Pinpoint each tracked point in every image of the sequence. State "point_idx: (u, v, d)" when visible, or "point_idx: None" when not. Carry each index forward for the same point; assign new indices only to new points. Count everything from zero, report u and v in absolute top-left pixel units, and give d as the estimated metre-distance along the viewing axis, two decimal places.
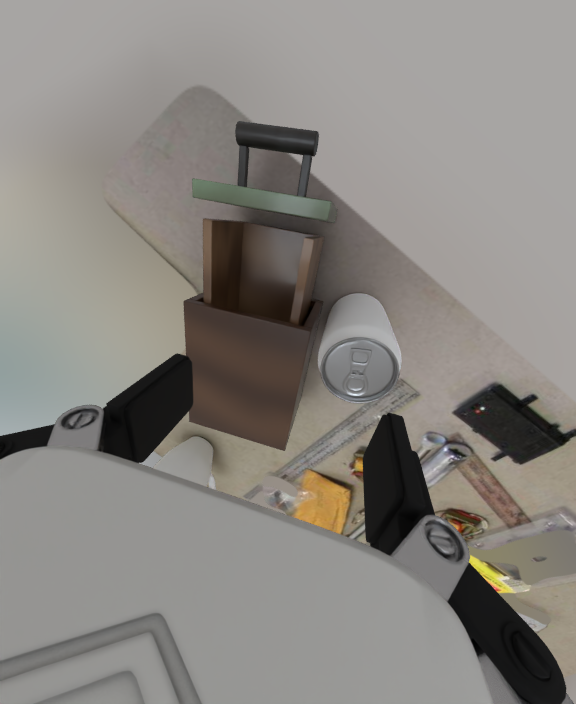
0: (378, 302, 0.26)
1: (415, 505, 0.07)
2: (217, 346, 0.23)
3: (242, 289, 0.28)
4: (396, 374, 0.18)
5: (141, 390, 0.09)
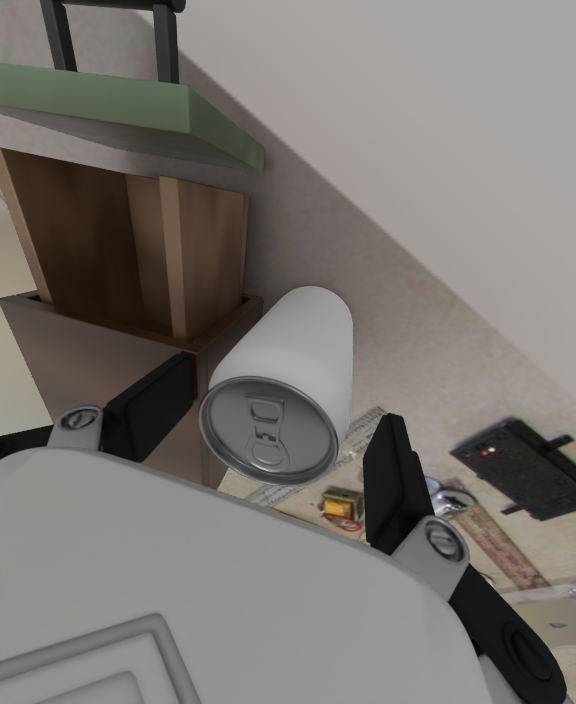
0: (337, 300, 0.17)
1: (415, 505, 0.07)
2: (70, 371, 0.14)
3: (143, 280, 0.19)
4: (334, 446, 0.09)
5: (141, 390, 0.09)
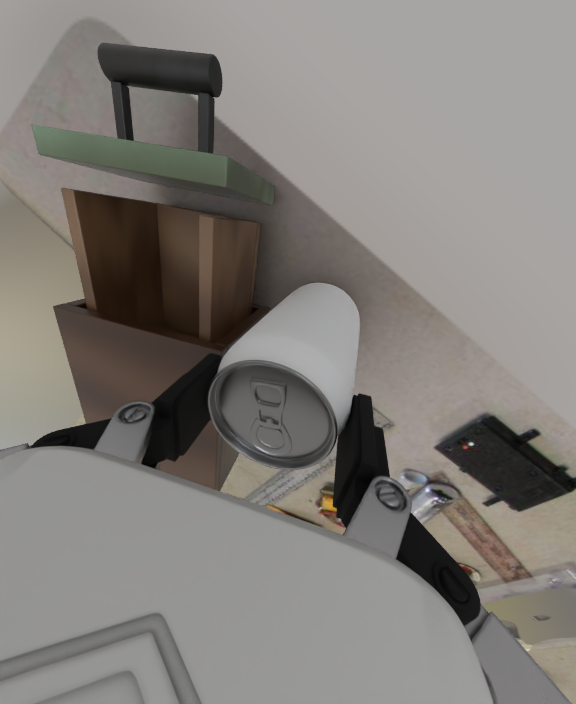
0: (344, 296, 0.17)
1: (369, 467, 0.08)
2: (107, 368, 0.17)
3: (165, 291, 0.22)
4: (333, 430, 0.09)
5: (185, 387, 0.09)
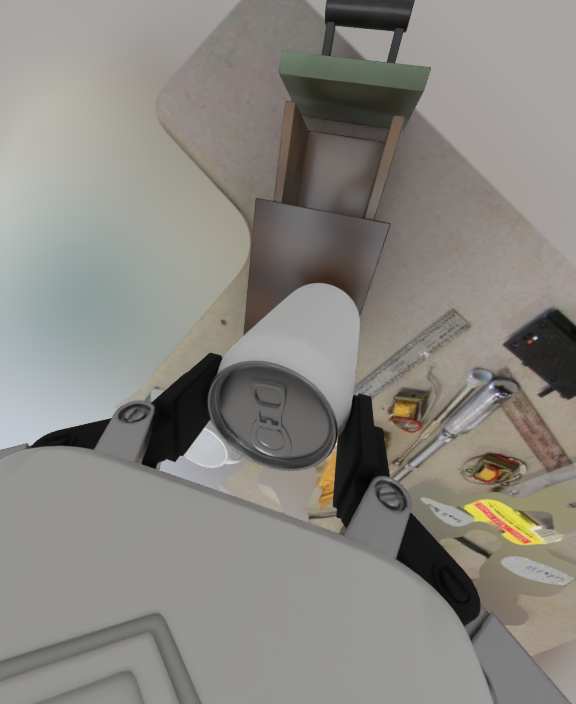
0: (344, 296, 0.17)
1: (369, 467, 0.08)
2: (285, 250, 0.23)
3: None
4: (333, 431, 0.09)
5: (185, 387, 0.09)
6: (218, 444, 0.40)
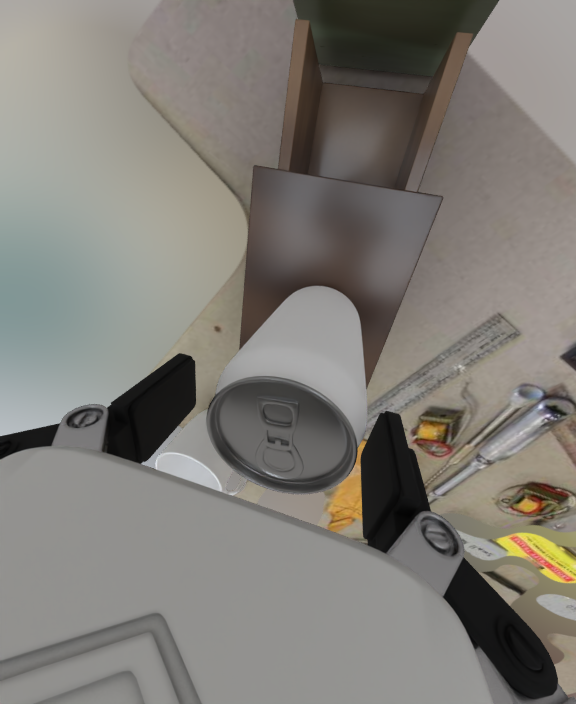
0: (345, 299, 0.16)
1: (411, 501, 0.07)
2: (294, 238, 0.17)
3: None
4: (352, 451, 0.08)
5: (145, 389, 0.09)
6: None
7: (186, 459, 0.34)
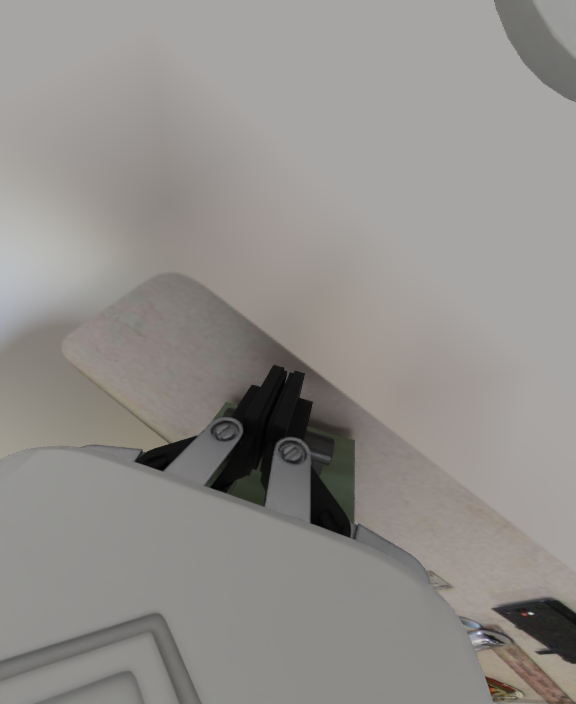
0: None
1: (279, 429, 0.09)
2: None
3: None
4: None
5: (265, 402, 0.09)
6: None
7: None
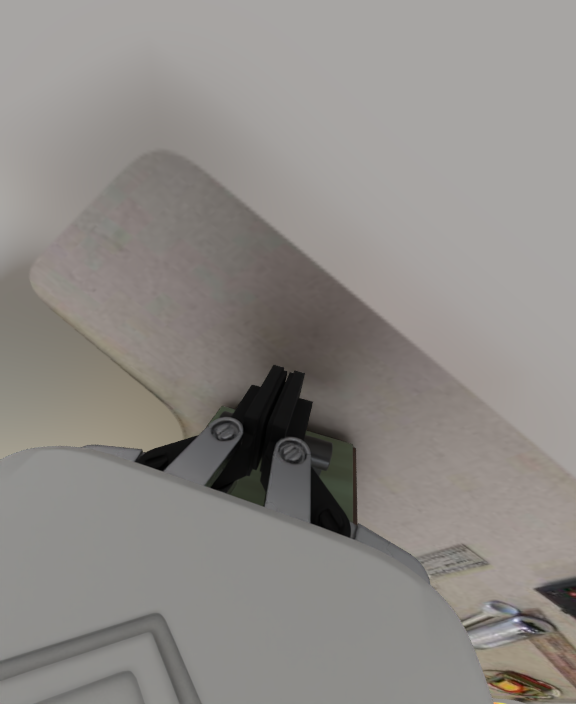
0: None
1: (279, 429, 0.09)
2: None
3: None
4: None
5: (265, 402, 0.09)
6: None
7: None
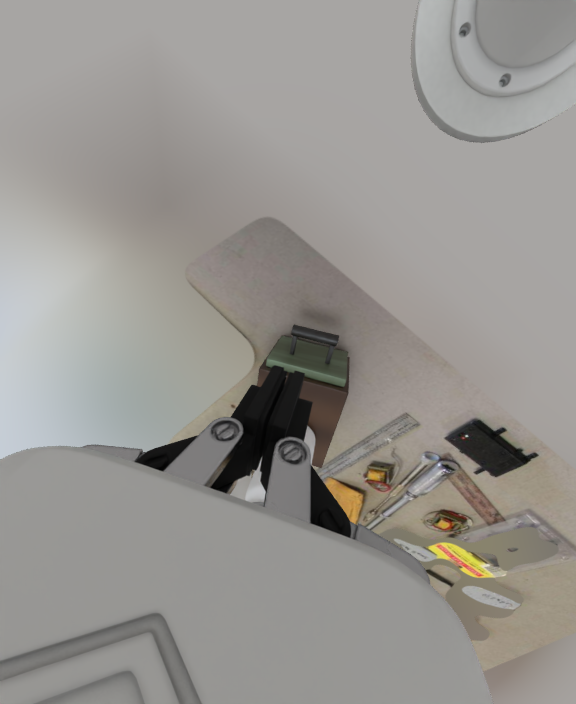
0: None
1: (280, 429, 0.09)
2: None
3: None
4: None
5: (265, 402, 0.09)
6: None
7: None
